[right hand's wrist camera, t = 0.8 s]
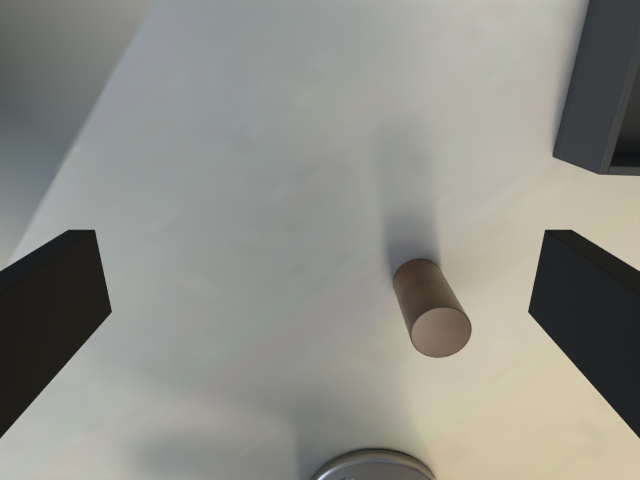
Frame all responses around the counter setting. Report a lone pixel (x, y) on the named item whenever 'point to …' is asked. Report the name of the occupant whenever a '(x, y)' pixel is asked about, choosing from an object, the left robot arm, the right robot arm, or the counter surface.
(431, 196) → the counter surface
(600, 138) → the bin
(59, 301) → the right robot arm
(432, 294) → the walnut peg
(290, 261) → the counter surface
